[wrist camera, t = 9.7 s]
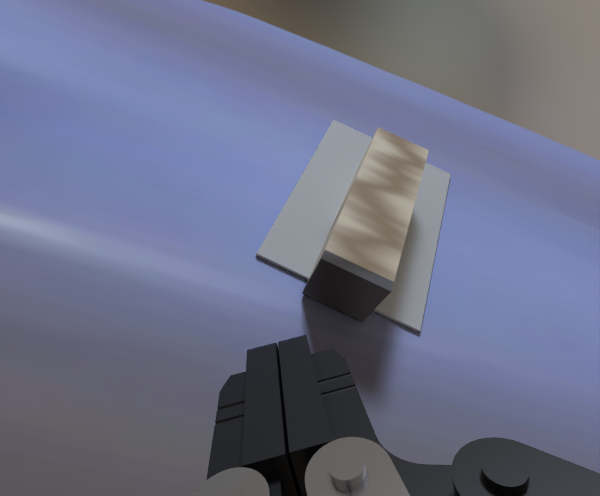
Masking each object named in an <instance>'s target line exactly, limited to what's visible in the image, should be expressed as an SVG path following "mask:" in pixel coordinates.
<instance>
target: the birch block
mask: <svg viewBox="0 0 600 496" xmlns="http://www.w3.org/2000/svg"><path fill="white" fill-rule="evenodd" d="M428 152H429V150H426V149H424V148H422V147H420V146H418V145H416V144H413V143H411V142H409V141H407V140H405V139H403V138H400V137H398V136H396V135H394V134H392V133H390V132H387V131H385V130H383V129H381V128H379V127H378V128H377V130H376V132H375V134H374V136H373V138H372V140H371V142H370V144H369V146H368V148H367V150H366V152H365V154H364V156H363V158H362V160H361V162H360V164H359V166H358V168H357V170H356V172H355V175H354V177H353V179H352V181H351V184H350V186H349V188H348V191H347V193H346V195H345V197H344V200H343V202H342V204H341V206H340V209H339V211H338V213H337V216H336V218H335V220H334V222H333V225H332V227H331V229H330V231H329V234H328V236H327V238H326V240H325V243H324V245H323V247H322V250H321V252H320V254H319V256H318V259H317V261H316V263H315V265H314V268H313V270H312V272H311V275H310V277H309V279H308V281H307V284H306V286H305V288H304V290H303V294H305V295H307V296H309V297H311V298H313V299H315V300H317V301H319V302H322V303H324V304H326V305H328V306H330V307H332V308H334V309H336V310H338V311H341V312H343V313H345V314H347V315H349V316H351V317H353V318H355V319H357V320H360V321H362V322H363V321H364V320H365V319H366V318H367V317H368V316H369V315H370V314H371V313H372V311H373V310H374V309H375V308H376V307H377V306H378V305H379V304H380V303H381V302H382V301H383V300H384V299H385V298H386V297H387V296H388V295H389V294H390V293H391V291H392V288H393V284H394V280H395V276H396V273H397V269H398V265H399V261H400V257H401V254H402V250H403V246H404V242H405V239H406V235H407V231H408V227H409V223H410V220H411V216H412V212H413V208H414V205H415V201H416V197H417V193H418V189H419V186H420V182H421V178H422V174H423V171H424V167H425V163H426V159H427V155H428Z"/></svg>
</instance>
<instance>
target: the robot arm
mask: <svg viewBox="0 0 600 496" xmlns="http://www.w3.org/2000/svg"><path fill="white" fill-rule="evenodd" d="M278 347H279V349H278ZM217 408H218V411H217V414H216V421H215V422H216V425H215V427H214V434H213V441H212V447H211V454H210V461H209V467H208V474H207V480H206V481H205V482H204V483H203V484H202V485H201V486H199V487H198V489H197V490H196V491H195V492H194V493H193V494H192V496H600V474H599V473H597V472H594V471H591V470H589V469H586V468H584V467H581V466H579V465H576V464H574V463H571V462H569V461H566V460H563V459H561V458H558V457H556V456H553V455H551V454H548V453H546V452H543V451H540V450H538V449H535V448H533V447H530V446H528V445H525V444H523V443H520V442H517V441H514V440H509V439H504V438H483V439H478V440H475V441H472V442H470V443H468V444H466V445H465V446H464V447H462V448H461V449H460V450H459V451H458V453H457V454H456V455H455V458H454V460H453V463H452V465H426V464H416V463H411V462H408V461H405V460H402V459H400V458H398V457H396V456H394V455H392V454H391V453H389V452H388V451H387V450H386V449H385V448H384V447H383V446H382V445H381V444H380V442H379V441H378V439H377V437H376V435H375V433H374V430H373V428H372V425H371V423H370V420H369V418H368V415H367V413H366V410H365V408H364V405H363V403H362V400H361V398H360V395H359V393H358V390H357V388H356V386H355V383H354V381H353V378H352V376H351V374H350V371H349V368H348V366H347V363H346V361H345V358H343V357H342V356H341V355H339V354H338V353H337V352H335V351H334V350H332V349H329V350H325V351H322V352H318V353H314V354H311V353H310V349H309V345H308V341H307V337H306V335H303V336H299V337H295V338H291V339H288V340H284V341H280V342H278V346H277V344H276V343H273V344H269V345H265V346H261V347H257V348H254V349H250V350H248V351H247V364H246V372H243V373H239V374H235V375H231V376H230V377H229V379H228V380H227V382H226V383H225V385H224V386H223V388H222V389H221V391H220V394H219V401H218V407H217Z"/></svg>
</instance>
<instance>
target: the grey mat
mask: <svg viewBox="0 0 600 496" xmlns="http://www.w3.org/2000/svg"><path fill="white" fill-rule="evenodd" d="M371 140H372V137H370V136H367V135H365V134H363V133H361V132H359V131H357V130H354V129H352V128H350V127H348V126H346V125H344V124H342V123H339V122H337V121H335V120H333V122H332V124H331V125H330V127H329V129H328V131H327V132H326V134H325V136H324V138H323V139H322V141H321V143H320V144H319V146H318V148H317V150H316V151H315V153H314V155H313V157H312V158H311V160H310V162H309V163H308V165H307V167H306V169H305V170H304V172H303V174H302V176H301V177H300V179H299V181H298V183H297V184H296V186H295V188H294V189H293V191H292V193H291V195H290V196H289V198H288V200H287V202H286V203H285V205H284V207H283V208H282V210H281V212H280V214H279V215H278V217H277V219H276V221H275V222H274V224H273V226H272V228H271V229H270V231H269V233H268V234H267V236H266V238H265V240H264V241H263V243H262V245H261V247H260V248H259V250H258V252H257V254H256V256H258V257H260V258H263V259H265V260H267V261H269V262H271V263H273V264H275V265H277V266H279V267H282V268H284V269H286V270H288V271H290V272H292V273H294V274H296V275H298V276H301V277H303V278H305V279H307V280H308V279H309V277H310V275H311V272H312V270H313V268H314V265H315V263H316V261H317V259H318V256H319V254H320V252H321V250H322V247H323V245H324V243H325V240H326V238H327V236H328V234H329V231H330V229H331V227H332V225H333V222H334V220H335V218H336V216H337V213H338V211H339V209H340V206H341V204H342V202H343V200H344V197H345V195H346V193H347V191H348V188H349V186H350V184H351V181H352V179H353V177H354V175H355V172H356V170H357V168H358V166H359V164H360V162H361V160H362V158H363V156H364V154H365V152H366V150H367V148H368V146H369V144H370V142H371ZM450 175H451V174H449V173H447V172H445V171H443V170H441V169H439V168H436V167H434V166H432V165H430V164H428V163H425V167H424V171H423V174H422V178H421V182H420V186H419V189H418V193H417V197H416V201H415V205H414V208H413V212H412V216H411V220H410V223H409V227H408V231H407V235H406V239H405V242H404V246H403V250H402V254H401V257H400V261H399V265H398V269H397V273H396V276H395V280H394V284H393V288H392V291H391V293H390V294H389V295H388V296H387V297H386V298H385V299H384V300H383V301H382V302H381V303H380V304H379V305H378V306H377V307H376V308H375V309H374V310H373V311H374V312H377V313H379V314H381V315H383V316H385V317H387V318H389V319H391V320H393V321H396V322H398V323H400V324H402V325H404V326H406V327H408V328H410V329H412V330H415V331H417V332H420V331H421V325H422V320H423V315H424V310H425V305H426V299H427V294H428V289H429V284H430V279H431V273H432V268H433V263H434V258H435V253H436V247H437V242H438V237H439V232H440V227H441V221H442V216H443V211H444V206H445V201H446V195H447V190H448V185H449V180H450Z"/></svg>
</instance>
